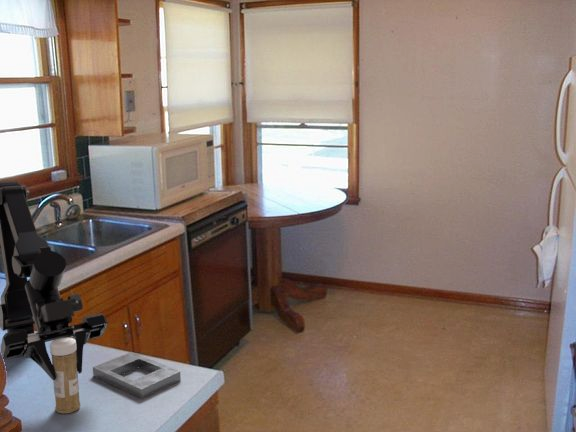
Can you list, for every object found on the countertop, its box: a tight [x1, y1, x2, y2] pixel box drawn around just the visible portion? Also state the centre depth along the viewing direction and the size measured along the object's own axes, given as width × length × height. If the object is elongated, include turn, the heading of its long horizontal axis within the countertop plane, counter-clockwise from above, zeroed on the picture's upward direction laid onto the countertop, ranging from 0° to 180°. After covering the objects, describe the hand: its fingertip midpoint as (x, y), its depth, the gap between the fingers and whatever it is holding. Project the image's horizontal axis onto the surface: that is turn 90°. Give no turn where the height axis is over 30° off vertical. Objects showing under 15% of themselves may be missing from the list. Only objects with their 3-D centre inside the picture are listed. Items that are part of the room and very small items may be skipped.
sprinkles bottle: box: [49, 337, 81, 415], centre depth 113 cm, size 5×5×13 cm
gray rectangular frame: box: [92, 351, 182, 400], centre depth 126 cm, size 16×10×2 cm, turn 52°
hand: (67, 376), depth 112 cm, fingers closed on sprinkles bottle, 4 cm apart
